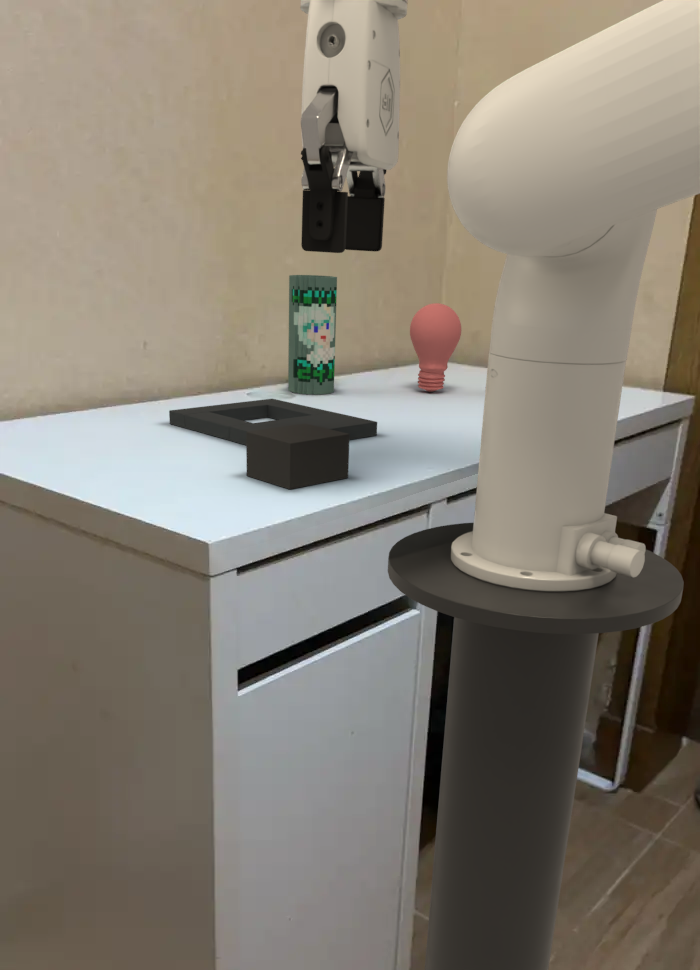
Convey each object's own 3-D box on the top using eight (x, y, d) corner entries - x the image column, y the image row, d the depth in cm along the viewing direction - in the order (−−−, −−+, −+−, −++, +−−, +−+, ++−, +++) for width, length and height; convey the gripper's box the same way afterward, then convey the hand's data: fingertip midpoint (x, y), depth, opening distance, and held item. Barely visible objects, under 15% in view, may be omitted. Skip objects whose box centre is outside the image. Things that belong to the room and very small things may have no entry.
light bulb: (451, 398, 129) (458, 306, 124) (401, 393, 130) (406, 303, 126) (460, 390, 135) (467, 303, 130) (412, 386, 137) (417, 300, 132)
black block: (348, 477, 85) (349, 433, 83) (289, 489, 80) (290, 443, 79) (304, 465, 89) (305, 423, 87) (246, 476, 84) (245, 431, 83)
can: (300, 395, 126) (302, 277, 121) (282, 388, 131) (283, 274, 126) (340, 393, 129) (344, 277, 123) (321, 386, 134) (323, 275, 128)
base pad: (376, 435, 103) (377, 421, 103) (272, 452, 93) (272, 437, 93) (272, 410, 115) (272, 398, 114) (169, 423, 105) (168, 410, 104)
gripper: (371, -48, 57) (357, 255, 63) (434, 13, 72) (417, 252, 79) (257, -45, 59) (255, 249, 65) (341, 14, 74) (332, 247, 81)
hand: (343, 251), depth 72 cm, fingers open, 9 cm apart
